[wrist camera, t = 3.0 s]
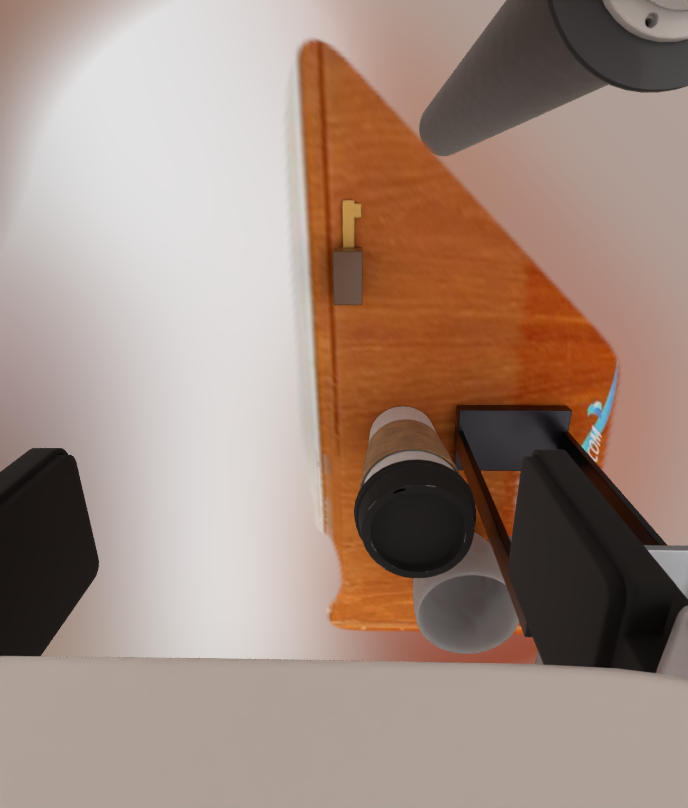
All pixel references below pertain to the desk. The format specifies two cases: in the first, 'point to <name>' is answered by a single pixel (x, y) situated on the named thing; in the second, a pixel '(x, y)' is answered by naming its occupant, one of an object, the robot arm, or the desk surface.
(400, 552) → the coffee cup
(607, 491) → the stand
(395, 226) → the desk surface
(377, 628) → the desk surface
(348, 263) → the key
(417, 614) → the mug
